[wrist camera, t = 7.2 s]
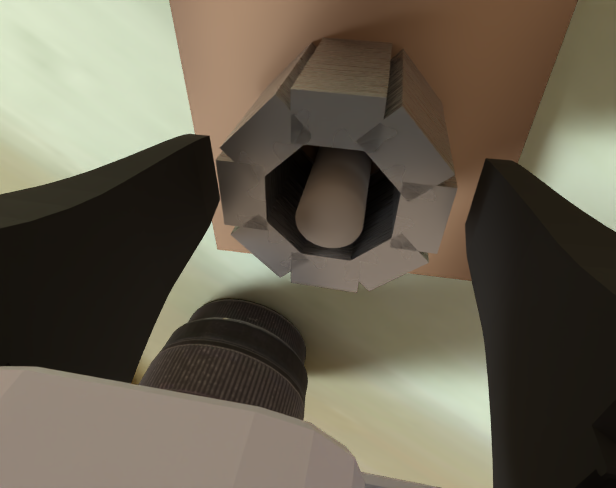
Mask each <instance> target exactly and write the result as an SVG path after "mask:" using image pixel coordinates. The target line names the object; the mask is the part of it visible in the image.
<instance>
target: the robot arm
mask: <svg viewBox="0 0 616 488" xmlns="http://www.w3.org/2000/svg"><path fill="white" fill-rule="evenodd" d="M219 201H220V194H219V188H218V182H217V176H216V170H215V164H214V158H213V153H212V147H211V141H210V136H208V135H196V134H186V135H182V136H178V137H175V138H173V139H170V140H167V141H165V142H162V143H160V144H157V145H155V146H152V147H150V148H147V149H145V150H143V151H140V152H138V153H135V154H133V155H130V156H128V157H126V158H123V159H120V160H118V161H115V162H112V163H110V164H107V165H104V166H102V167H99V168H96V169H94V170H91V171H88V172H85V173H82V174H79V175H76V176H73V177H70V178H66V179H63V180H59V181H56V182H52V183H49V184H45V185H41V186H37V187H33V188H28V189H24V190H19V191H14V192H10V193H5V194H1V195H0V488H440V487H435V486H430V485H425V484H420V483H415V482H410V481H405V480H400V479H394V478H389V477H384V476H379V475H374V474H369V473H364V472H361V471H360V469H359V466H358V464H357V462H356V459H355V457H354V456H353V455H352V453H351V452H350V451H349V450H348V448H347V447H346V446H344V445H343V444H341V443H340V442H338V441H337V440H335V439H334V438H332V437H331V436H329V435H328V434H326V433H325V432H323V431H322V430H321V429H319V428H318V427H316V426H315V425H313V424H312V423H310V422H306V421H303V420H300V419H297V418H294V417H290V416H287V415H284V414H281V413H278V412H275V411H271V410H268V409H265V408H262V407H258V406H252V405H247V404H241V403H236V402H230V401H225V400H219V399H214V398H208V397H202V396H197V395H191V394H186V393H180V392H175V391H169V390H164V389H158V388H153V387H147V386H141V385H136V384H131V382H132V380H133V377H134V374H135V372H136V369H137V366H138V364H139V361H140V359H141V356H142V354H143V351H144V349H145V346H146V344H147V342H148V339H149V337H150V334H151V332H152V330H153V327H154V325H155V323H156V321H157V318H158V316H159V314H160V312H161V310H162V308H163V305H164V303H165V301H166V299H167V297H168V295H169V293H170V291H171V289H172V288H173V286H174V284H175V282H176V281H177V279H178V277H179V276H180V274H181V273H182V271H183V269H184V268H185V266H186V264H187V263H188V261H189V259H190V258H191V256H192V255H193V253H194V251H195V250H196V248H197V246H198V245H199V243H200V241H201V240H202V238H203V236H204V235H205V233H206V231H207V230H208V228H209V226H210V224H211V221H212V219H213V217H214V214H215V212H216V209H217V206H218V204H219ZM465 238H466V254H467V260H468V265H469V270H470V275H471V280H472V284H473V289H474V293H475V298H476V302H477V307H478V311H479V316H480V320H481V325H482V330H483V336H484V342H485V353H486V363H487V374H488V387H489V401H490V415H491V436H492V457H493V488H616V232H615V231H613V230H611V229H610V228H608V227H606V226H605V225H603V224H602V223H600V222H599V221H597V220H596V219H594V218H593V217H591V216H590V215H588V214H586V213H585V212H583V211H582V210H580V209H579V208H578V207H576V206H575V205H573V204H572V203H570V202H569V201H568V200H566V199H565V198H564V197H562V196H561V195H559V194H558V193H557V192H555V191H554V190H553V189H551V188H550V187H549V186H547V185H546V184H545V183H544V182H542V181H541V180H540V179H538V178H537V177H536V176H534V175H533V174H532V173H530V172H529V171H528V170H526V169H525V168H523V167H522V166H521V165H519V164H517V163H516V162H514V161H512V160H501V159H489V158H486V159H485V162H484V165H483V168H482V171H481V175H480V178H479V181H478V184H477V188H476V191H475V194H474V197H473V200H472V204H471V207H470V210H469V213H468V216H467V220H466V223H465Z"/></svg>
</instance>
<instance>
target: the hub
mask: <svg viewBox="0 0 616 488" xmlns="http://www.w3.org/2000/svg"><path fill="white" fill-rule="evenodd" d="M391 51H392V43H390V42H377V41H364V40H350V39H337V38H324V37H323V39H322V41H321V42H320V44H319V45H318V47H316V46H315V45H314V44H313V42H311V43H310V44H309V45H308V46H307V47H306V48H305V49H304V50H303V51H302V52H301V53H300V54H299V55H298V56H297V57H296V58H295V59H294V60H293V61H292V62H291V63H290V64H289V65H288V66H287V67H286V68H285V69H284V70H283V71H282V72H281V73H280V74H279V75H278V76H277V77H276V78H275V79H274V80H273V81H272V82H271V83H270V84H269V85H268V86H267V87H266V89H265V90H264V91H263V93H262V94H261V95H260V96H259V98H258V99H257V100H256V102H255V103H254V104H253V105H252V107H251V108H250V109H249V111H248V112H247V113H246V114H245V116H244V117H243V118H242V120H241V121H240V122H239V123H238V125H237V126H236V127H235V129H234V130H233V131H232V132H231V134H230V135H229V136H228V138H227V139H226V140H225V141H224V143H223V144H222V145H221V147H220V149H221V150H222V152H221V153H220V155H219V156H218V157H217V159H216V166H217V174H218V181H219V188H220V196H221V203H222V210H223V218H224V225H231V226H235V227H234V229H233V231H232V233H231V236H233V237H234V238H235V239H236V240H237V241H238V242H239V243H241V244H242V245H243V246H244V247H245V248H246V249H248V250H249V251H250V252H251V253H252V254H253V255H254V256H256V257H257V258H258V259H259V260H260V261H261V262H263V263H264V264H265V265H266V266H267V267H268V268H270V269H271V270H272V271H273V272H274V273H275V274H276V275H278V276H279V277H282V276H284V275H285V274H287V273H289V272H291V283H297V284H304V285H310V286H317V287H323V288H330V289H336V290H343V291H349V292H356V293H357V289H358V283H359V282H360V283H361V284H362V285H363V286H364V287H365V288H366V289H367V290H368V291H370V290H373V289H375V288H377V287H379V286H381V285H383V284H385V283H387V282H389V281H391V280H394V279H396V278H398V277H400V276H402V275H404V274H406V273H408V272H410V271H412V270H415V269H417V268H419V267H421V266H423V265H425V264H427V263H429V257H428V253H434V254H437V253H438V250H439V246H440V243H441V240H442V237H443V234H444V230H445V227H446V224H447V221H448V218H449V214H450V211H451V208H452V205H453V202H454V198H455V195H456V192H457V189H458V188H457V182H456V177H455V171H454V165H453V160H452V154H451V149H450V144H449V138H448V133H447V127H446V122H445V117H444V111H443V106H442V102H441V100H440V99H439V98H438V96H437V95H436V93H435V92H434V91H433V89H432V88H431V86H430V85H429V84H428V82H427V81H426V80H425V78H424V77H423V75H422V74H421V73H420V71H419V70H418V68H417V67H416V66H415V64H414V63H413V61H412V60H411V59H410V57H409V56H408V55H407V53H406V52H405V50H404V49H402V50H401V51H400V52H399V53H398V54H397V55H395V56H394V57H393V58H392V59H391ZM304 144H305V145H314V146H323V147H332V148H342V149H351V150H360V151H365V152H366V153H367V154H368V156H369V157H370V158H371V159H372V160H373V161H374V163H375V164H376V165H377V166H378V167H379V169H378V170H376V171H375V172H373V173H372V174H370V179H369V186H368V194H367V201H366V208H365V216H364V223H363V229H362V232H361V234H360V236H359V237H358V238H357V239H356V240H355V241H354V242H352V243H351V244H349V245H347V246H344V247H340V248H326V247H321V246H318V245H316V244H314V243H312V242H310V241H309V240H307V239H306V238H305V237H304V236H303V235H302V234H301V233H300V231H299V229H298V227H297V225H296V220H295V215H296V210H297V208H298V205H299V202H300V199H301V197H302V194H303V191H304V188H305V186H306V183H307V180H308V177H309V175H310V172H311V169H312V166H313V164H314V162H313V161H312V160H311V159H310V158H309V157H308V156H307V155H306V154H305V152H304V151H303V150H302V149H301V148H300V147H301V146H303V145H304Z"/></svg>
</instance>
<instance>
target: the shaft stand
mask: <svg viewBox="0 0 616 488" xmlns="http://www.w3.org/2000/svg"><path fill="white" fill-rule="evenodd" d="M577 1H578V0H169V2H170V7H171V12H172V17H173V22H174V27H175V32H176V38H177V43H178V48H179V53H180V58H181V63H182V69H183V74H184V79H185V84H186V89H187V94H188V100H189V105H190V110H191V115H192V120H193V125H194V131H195V134H196V135H208V136H210V141H211V147H212V153H213V158H214V164H215V170H216V176H217V182H218V188H219V181H218V174H217V166H216V159H217V157H218V156H219V155H220V153H221V152H222V150H221V149H220V147H221V145H222V144H223V143H224V141H225V140H226V139H227V138H228V136H229V135H230V134H231V132H232V131H233V130H234V129H235V127H236V126H237V125H238V123H239V122H240V121H241V120H242V118H243V117H244V116H245V114H246V113H247V112H248V111H249V109H250V108H251V107H252V105H253V104H254V103H255V102H256V100H257V99H258V98H259V96H260V95H261V94H262V93H263V91H264V90H265V89H266V87H267V86H268V85H269V84H270V83H271V82H272V81H273V80H274V79H275V78H276V77H277V76H278V75H279V74H280V73H281V72H282V71H283V70H284V69H285V68H286V67H287V66H288V65H289V64H290V63H291V62H292V61H293V60H294V59H295V58H296V57H297V56H298V55H299V54H300V53H301V52H302V51H303V50H304V49H305V48H306V47H307V46H308V45H309V44H310V43H311V42H313V44H314V45H315V46H316V47H318V45H319V44H320V42H321V41H322V39H323V37H324V38H337V39H350V40H364V41H377V42H390V43H392V51H391V59H392V58H393V57H394V56H395V55H397V54H398V53H399V52H400V51H401V50H402V49H404V50H405V52H406V53H407V55H408V56H409V57H410V59H411V60H412V61H413V63H414V64H415V66H416V67H417V68H418V70H419V71H420V73H421V74H422V75H423V77H424V78H425V80H426V81H427V82H428V84H429V85H430V86H431V88H432V89H433V91H434V92H435V93H436V95H437V96H438V98H439V99H440V100H441V102H442V106H443V111H444V117H445V122H446V127H447V133H448V138H449V144H450V149H451V154H452V160H453V165H454V171H455V177H456V182H457V188H458V189H457V192H456V195H455V198H454V202H453V205H452V208H451V211H450V214H449V218H448V221H447V224H446V227H445V230H444V234H443V237H442V240H441V243H440V246H439V250H438V253H437V254H434V253H428V257H429V263H427V264H425V265H423V266H421V267H419V268H417V269H415V270H412V271H410V272H408V273H412V274H420V275H428V276H436V277H444V278H453V279H461V280H469V281H472V280H471V275H470V270H469V265H468V260H467V254H466V238H465V223H466V220H467V216H468V213H469V210H470V207H471V204H472V200H473V197H474V194H475V191H476V188H477V184H478V181H479V178H480V175H481V171H482V168H483V165H484V162H485V159H486V158H489V159H501V160H512V161H514V162H516V163H518V161H519V158H520V155H521V153H522V150H523V147H524V144H525V142H526V139H527V136H528V134H529V131H530V128H531V126H532V123H533V120H534V117H535V115H536V112H537V109H538V107H539V104H540V101H541V99H542V96H543V93H544V91H545V88H546V85H547V82H548V80H549V77H550V74H551V72H552V69H553V66H554V64H555V61H556V58H557V55H558V53H559V50H560V47H561V45H562V42H563V39H564V37H565V34H566V31H567V28H568V26H569V23H570V20H571V18H572V15H573V12H574V10H575V7H576V4H577ZM300 148H301V149H302V150H303V151H304V152H305V154H306V155H307V156H308V157H309V158H310V159H311V160H312V161H313V162H314V164H313V166H312V169H311V172H310V175H309V177H308V180H307V183H306V186H305V188H304V191H303V194H302V197H301V199H300V202H299V205H298V208H297V210H296V215H295V220H296V225H297V227H298V229H299V231H300V233H301V234H302V235H303V236H304V237H305V238H306V239H307V240H309V241H310V242H312V243H314V244H316V245H318V246H321V247H326V248H340V247H344V246H347V245H349V244H351V243H352V242H354V241H355V240H356V239H357V238H358V237H359V236H360V234H361V232H362V229H363V223H364V216H365V208H366V201H367V194H368V186H369V179H370V174H372V173H373V172H375V171H376V170H378V169H379V167H378V166H377V165H376V164H375V163H374V161H373V160H372V159H371V158H370V157H369V156H368V154H367V153H366V152H365V151H360V150H351V149H342V148H332V147H323V146H314V145H305V144H304V145H303V146H301V147H300ZM219 194H220V188H219ZM212 224H213V229H214V234H215V239H216V244H217V249H219V250H227V251H235V252H243V253H251V252H250V251H249V250H248V249H246V248H245V247H244V246H243V245H242V244H241V243H239V242H238V241H237V240H236V239H235V238H234V237H233V236H231V233H232V231H233V229H234V227H235V226H231V225H224V218H223V210H222V203H221V196H220V201H219V204H218V206H217V209H216V212H215V214H214V217H213V219H212ZM251 254H252V253H251Z"/></svg>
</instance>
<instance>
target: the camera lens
mask: <svg viewBox="0 0 616 488" xmlns="http://www.w3.org/2000/svg"><path fill="white" fill-rule="evenodd" d="M305 357H306V348H305V344H304V341H303V339H302V336H301V335H300V333H299V332H298V330H297V329H296V328H295V327H294V326H293V325H292V324H291V323H290V322H289V321H288V320H287V319H285V318H284V317H283V316H281V315H280V314H278V313H276V312H274V311H273V310H271V309H268V308H266V307H264V306H262V305H259V304H256V303H252V302H247V301H242V300H218V301H213V302H211V303H208V304H205V305H203V306H202V307H200V308H199V309H198V310H197V311H196V312H195V313H194V314H193V315H192V317H191V318H190V320H189V322H188V323H186V324H184V325H183V326H181V327H179V328H178V329H177V330H176V331H175V332H174V333H173V334H172V335H171V337H170V338H169V340H168V341H167V343H166V345H165V346H164V347H163V349H162V350H161V351H160V352H159V354H158V355H157V356H156V357H155V359H154V360H153V361H152V363H151V364H150V366H149V368H148V369H147V371H146V373H145V374H144V376H143V378H142V380H141V381H140V383H139V385H141V386H147V387H153V388H158V389H164V390H169V391H175V392H180V393H186V394H191V395H197V396H202V397H208V398H214V399H219V400H225V401H230V402H236V403H241V404H247V405H252V406H258V407H262V408H265V409H268V410H271V411H275V412H278V413H281V414H284V415H287V416H290V417H294V418H297V419H300V420H303V419H304V407H305V395H306V390H307V384H308V378H307V372H306V369H305V367H304V362H305Z"/></svg>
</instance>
